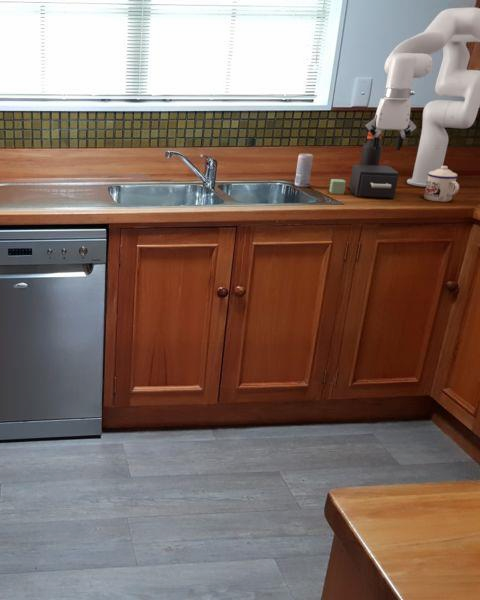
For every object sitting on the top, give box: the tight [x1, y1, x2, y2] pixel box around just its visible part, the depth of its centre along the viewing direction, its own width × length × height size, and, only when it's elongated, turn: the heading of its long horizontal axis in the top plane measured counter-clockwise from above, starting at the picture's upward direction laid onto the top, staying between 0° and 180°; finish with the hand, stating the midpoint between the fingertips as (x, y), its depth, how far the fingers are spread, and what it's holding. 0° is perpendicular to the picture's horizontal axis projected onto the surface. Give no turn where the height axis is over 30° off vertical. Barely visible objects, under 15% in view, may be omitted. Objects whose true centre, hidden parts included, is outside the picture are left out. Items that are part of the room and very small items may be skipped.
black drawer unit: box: [359, 174, 399, 198], centre depth 218 cm, size 18×11×7 cm, turn 167°
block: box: [328, 178, 347, 195], centre depth 224 cm, size 4×4×4 cm
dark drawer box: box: [348, 164, 400, 200], centre depth 222 cm, size 15×13×9 cm
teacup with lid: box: [423, 165, 460, 203], centre depth 212 cm, size 12×9×12 cm
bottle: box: [359, 131, 383, 166], centre depth 234 cm, size 7×7×20 cm
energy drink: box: [294, 153, 314, 188], centre depth 234 cm, size 5×5×12 cm
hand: (386, 148), depth 208 cm, fingers open, 6 cm apart
